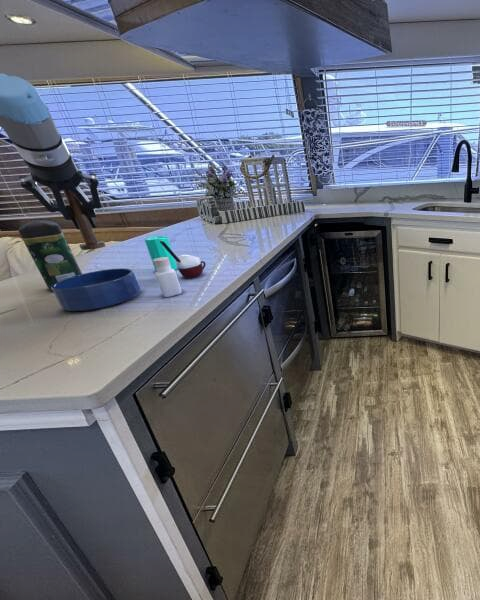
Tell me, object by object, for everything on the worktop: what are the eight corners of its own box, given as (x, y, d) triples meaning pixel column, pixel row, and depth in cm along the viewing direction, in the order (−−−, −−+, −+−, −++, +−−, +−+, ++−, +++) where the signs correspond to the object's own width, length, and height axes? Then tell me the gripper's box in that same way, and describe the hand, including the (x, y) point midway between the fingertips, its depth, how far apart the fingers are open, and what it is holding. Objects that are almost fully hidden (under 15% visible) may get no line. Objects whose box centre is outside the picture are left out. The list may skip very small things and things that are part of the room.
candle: (161, 273, 100) (147, 235, 96) (152, 271, 103) (138, 234, 99) (181, 268, 105) (169, 231, 100) (172, 266, 108) (160, 230, 103)
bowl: (58, 319, 72) (45, 294, 69) (67, 299, 83) (56, 277, 80) (142, 300, 80) (133, 277, 78) (140, 285, 91) (132, 264, 89)
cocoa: (206, 271, 101) (195, 233, 96) (211, 275, 97) (199, 236, 92) (171, 278, 96) (157, 238, 91) (174, 283, 91) (160, 242, 86)
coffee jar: (49, 285, 94) (16, 221, 86) (85, 278, 99) (57, 217, 91) (47, 294, 87) (12, 225, 80) (86, 286, 92) (56, 220, 85)
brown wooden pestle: (80, 251, 83) (51, 184, 77) (82, 247, 87) (54, 183, 81) (105, 247, 86) (79, 182, 80) (106, 244, 90) (80, 182, 83)
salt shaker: (164, 298, 81) (151, 262, 77) (162, 294, 84) (149, 259, 80) (182, 294, 83) (171, 258, 79) (180, 290, 86) (168, 255, 82)
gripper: (-5, 170, 63) (49, 240, 82) (98, 167, 72) (125, 231, 91) (-11, 142, 65) (43, 217, 84) (90, 142, 74) (118, 210, 92)
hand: (85, 224), depth 87 cm, fingers closed on brown wooden pestle, 2 cm apart
